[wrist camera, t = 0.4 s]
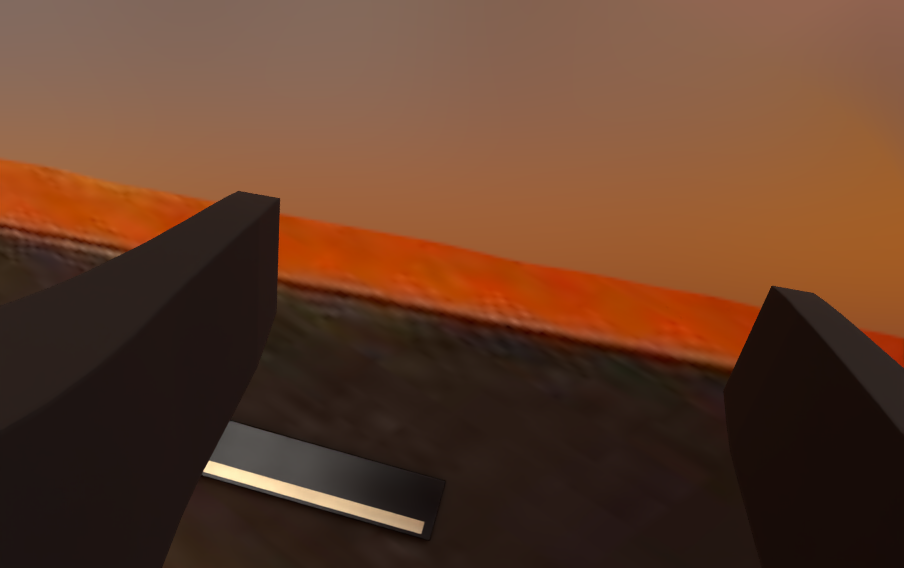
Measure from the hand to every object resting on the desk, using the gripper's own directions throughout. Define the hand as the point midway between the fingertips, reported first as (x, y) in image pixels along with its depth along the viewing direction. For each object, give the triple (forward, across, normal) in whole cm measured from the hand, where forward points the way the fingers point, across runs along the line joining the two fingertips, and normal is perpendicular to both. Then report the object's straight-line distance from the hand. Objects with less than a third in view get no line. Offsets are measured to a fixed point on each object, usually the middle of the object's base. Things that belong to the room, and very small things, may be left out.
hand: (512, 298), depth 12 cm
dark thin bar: (+19, +14, +25) cm, 34 cm away
